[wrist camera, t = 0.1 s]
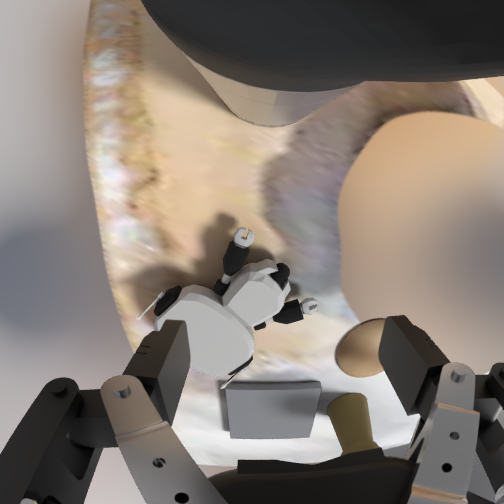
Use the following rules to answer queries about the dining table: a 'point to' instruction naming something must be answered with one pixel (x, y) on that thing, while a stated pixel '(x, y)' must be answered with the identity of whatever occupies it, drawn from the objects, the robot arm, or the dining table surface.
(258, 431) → the slate tile
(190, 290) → the robot toy
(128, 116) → the dining table surface
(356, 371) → the cork coaster
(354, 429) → the pepper shaker
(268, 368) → the dining table surface
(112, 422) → the robot arm
